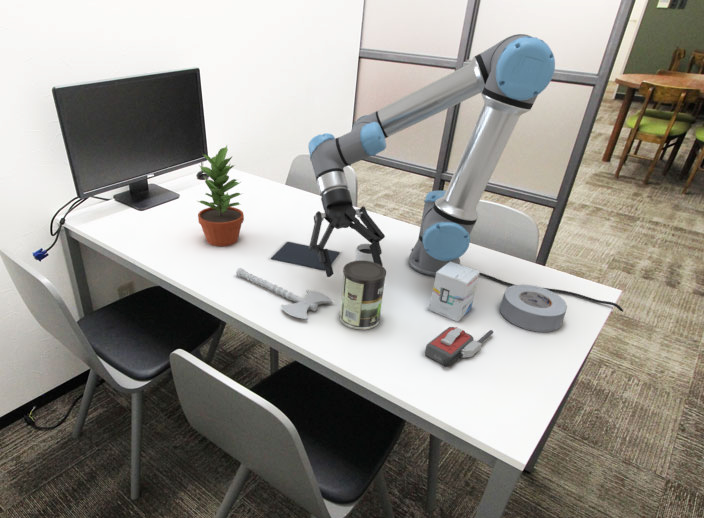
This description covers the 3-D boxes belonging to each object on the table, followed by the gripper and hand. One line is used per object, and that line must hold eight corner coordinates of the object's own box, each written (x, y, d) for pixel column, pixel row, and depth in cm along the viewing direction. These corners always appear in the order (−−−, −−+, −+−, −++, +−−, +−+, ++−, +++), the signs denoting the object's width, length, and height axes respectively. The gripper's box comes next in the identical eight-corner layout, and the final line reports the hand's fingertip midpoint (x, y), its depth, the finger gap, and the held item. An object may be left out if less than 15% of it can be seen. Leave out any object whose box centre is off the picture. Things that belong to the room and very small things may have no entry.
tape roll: (570, 316, 131) (577, 300, 128) (546, 339, 122) (552, 322, 119) (515, 294, 140) (520, 278, 137) (488, 313, 131) (493, 297, 128)
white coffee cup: (379, 278, 145) (384, 247, 140) (370, 288, 140) (374, 256, 135) (359, 272, 148) (362, 241, 142) (349, 281, 143) (352, 250, 137)
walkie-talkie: (453, 374, 109) (494, 337, 122) (457, 359, 107) (499, 322, 119) (419, 356, 114) (462, 322, 127) (422, 341, 112) (466, 308, 124)
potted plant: (191, 246, 158) (182, 152, 142) (210, 228, 171) (204, 139, 155) (235, 253, 155) (231, 157, 140) (251, 234, 168) (249, 144, 152)
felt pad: (339, 253, 158) (339, 252, 158) (326, 270, 148) (326, 269, 147) (287, 242, 163) (287, 241, 163) (271, 259, 153) (271, 257, 153)
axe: (221, 284, 139) (220, 276, 138) (255, 267, 148) (255, 259, 147) (303, 325, 123) (303, 317, 122) (336, 303, 132) (337, 296, 131)
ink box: (442, 297, 137) (450, 260, 131) (471, 309, 132) (481, 270, 126) (427, 310, 131) (435, 271, 125) (457, 322, 127) (467, 283, 120)
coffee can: (380, 310, 130) (387, 262, 123) (377, 332, 122) (385, 282, 114) (342, 305, 132) (346, 257, 124) (336, 326, 123) (340, 277, 116)
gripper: (371, 195, 135) (392, 268, 131) (285, 204, 127) (304, 283, 123) (383, 182, 128) (405, 259, 124) (293, 191, 120) (313, 274, 116)
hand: (355, 271), depth 124 cm, fingers open, 13 cm apart
